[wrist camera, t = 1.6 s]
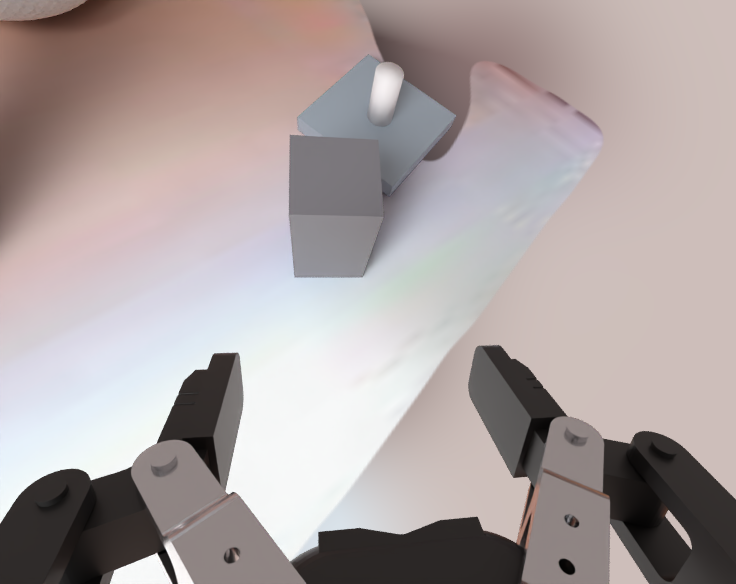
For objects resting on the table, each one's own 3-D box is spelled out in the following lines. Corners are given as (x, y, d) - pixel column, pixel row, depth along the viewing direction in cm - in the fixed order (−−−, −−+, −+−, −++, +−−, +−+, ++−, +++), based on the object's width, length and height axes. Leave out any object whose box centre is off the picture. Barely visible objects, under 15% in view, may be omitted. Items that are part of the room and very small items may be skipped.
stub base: (297, 129, 35) (295, 71, 29) (366, 68, 38) (376, 5, 32) (389, 196, 34) (405, 150, 28) (450, 127, 37) (476, 73, 32)
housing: (294, 277, 30) (288, 214, 21) (294, 216, 32) (289, 135, 23) (362, 277, 31) (384, 216, 22) (359, 218, 33) (378, 139, 24)
